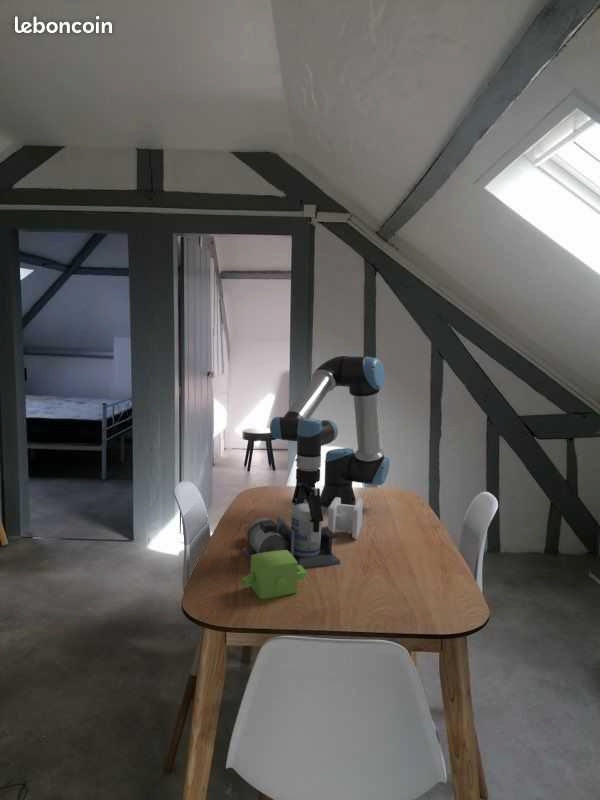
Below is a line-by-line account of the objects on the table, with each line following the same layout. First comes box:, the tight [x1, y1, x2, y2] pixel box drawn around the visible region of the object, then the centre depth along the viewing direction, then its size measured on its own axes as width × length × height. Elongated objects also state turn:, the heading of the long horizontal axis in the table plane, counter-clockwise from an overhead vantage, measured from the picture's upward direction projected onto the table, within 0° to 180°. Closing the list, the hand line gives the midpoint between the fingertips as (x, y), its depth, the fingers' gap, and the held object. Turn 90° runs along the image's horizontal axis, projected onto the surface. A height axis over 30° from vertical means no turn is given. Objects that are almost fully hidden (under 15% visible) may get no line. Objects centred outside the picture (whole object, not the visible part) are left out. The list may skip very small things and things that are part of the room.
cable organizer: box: [327, 497, 364, 540], centre depth 196 cm, size 15×11×12 cm
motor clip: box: [242, 516, 341, 569], centre depth 172 cm, size 27×18×12 cm, turn 111°
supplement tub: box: [290, 502, 323, 557], centre depth 174 cm, size 10×10×15 cm
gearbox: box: [240, 550, 308, 600], centre depth 148 cm, size 18×10×10 cm, turn 113°
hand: (306, 534), depth 174 cm, fingers open, 13 cm apart
